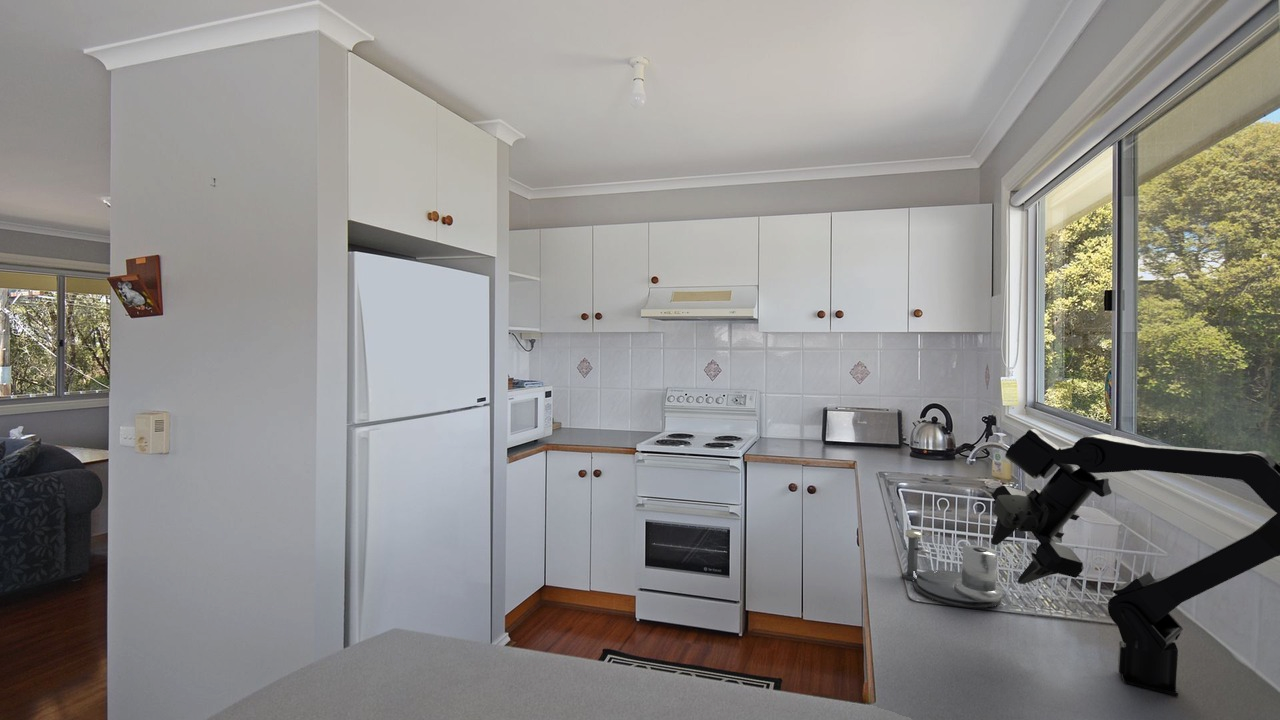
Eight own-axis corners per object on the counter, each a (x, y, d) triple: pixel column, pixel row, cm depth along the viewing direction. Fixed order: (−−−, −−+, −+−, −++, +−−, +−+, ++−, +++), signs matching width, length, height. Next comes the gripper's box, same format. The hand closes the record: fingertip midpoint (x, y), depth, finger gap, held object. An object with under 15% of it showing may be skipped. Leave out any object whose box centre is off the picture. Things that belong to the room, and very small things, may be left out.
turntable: (1003, 588, 136) (1004, 580, 136) (998, 615, 123) (998, 606, 123) (920, 572, 145) (921, 564, 145) (906, 595, 131) (907, 586, 131)
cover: (1003, 591, 130) (1006, 548, 130) (1001, 605, 123) (1003, 559, 123) (957, 581, 134) (959, 539, 134) (951, 595, 127) (953, 550, 127)
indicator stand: (900, 577, 141) (902, 531, 141) (908, 574, 143) (910, 528, 143) (924, 585, 137) (927, 537, 137) (932, 581, 139) (934, 534, 139)
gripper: (992, 451, 117) (944, 515, 124) (1052, 524, 100) (993, 594, 107) (1044, 467, 119) (995, 530, 126) (1112, 542, 102) (1050, 609, 109)
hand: (1006, 562), depth 117 cm, fingers open, 9 cm apart
